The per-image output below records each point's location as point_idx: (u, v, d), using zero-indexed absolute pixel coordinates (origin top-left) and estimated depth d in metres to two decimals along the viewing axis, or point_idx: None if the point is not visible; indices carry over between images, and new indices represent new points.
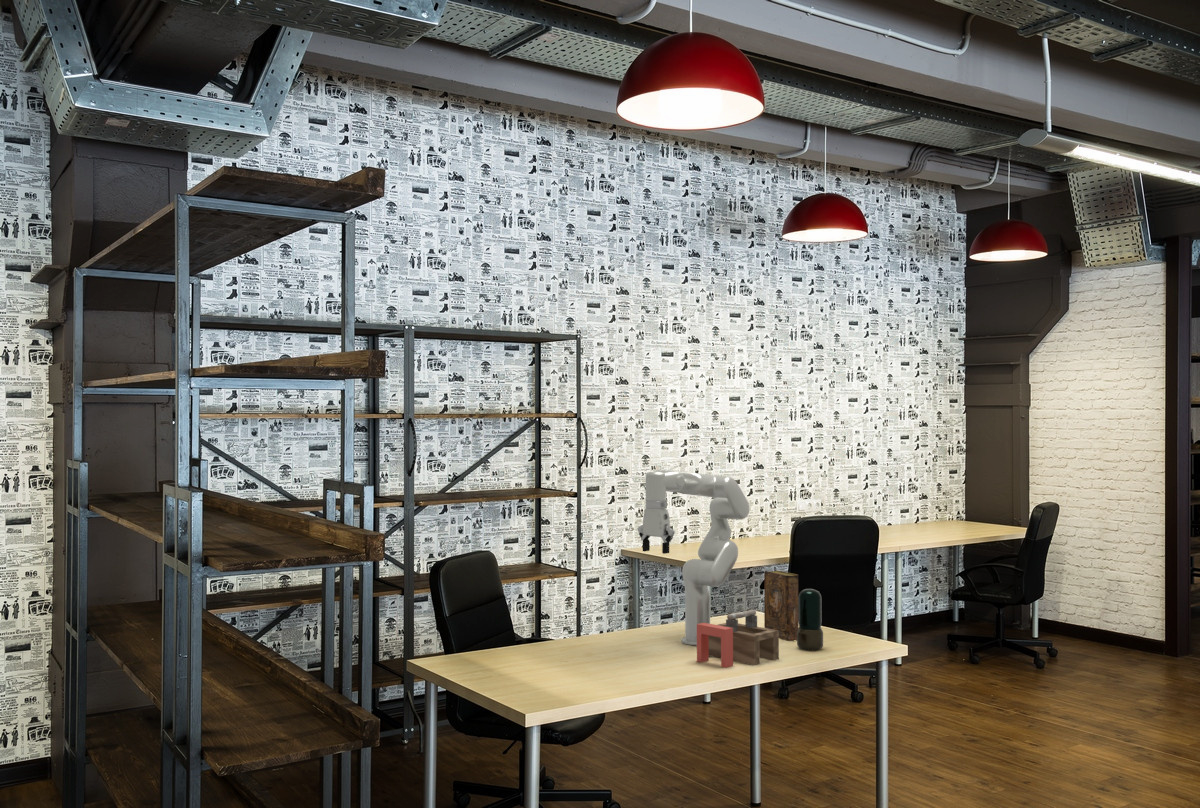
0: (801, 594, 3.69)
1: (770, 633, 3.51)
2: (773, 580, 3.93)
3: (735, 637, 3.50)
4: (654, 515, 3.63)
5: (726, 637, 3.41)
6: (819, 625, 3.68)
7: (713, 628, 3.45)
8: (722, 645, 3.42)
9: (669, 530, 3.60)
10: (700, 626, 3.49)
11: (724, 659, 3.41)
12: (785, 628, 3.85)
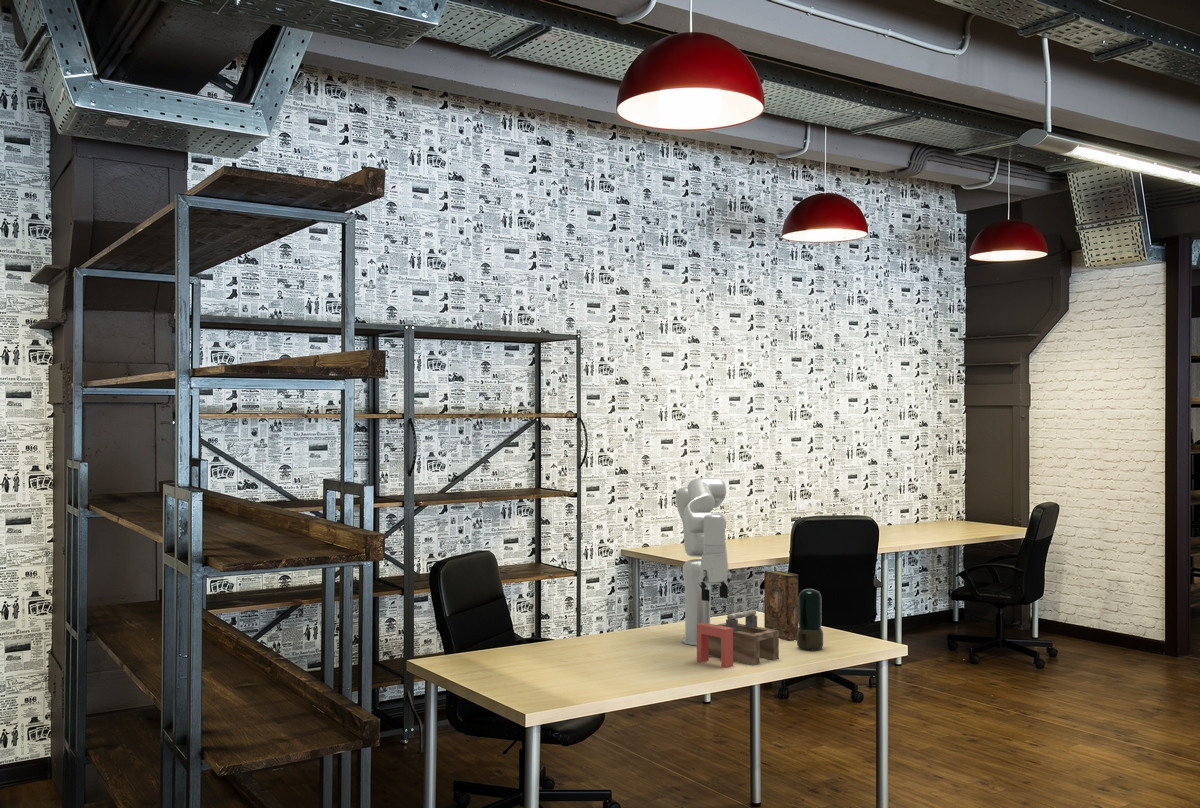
0: (801, 594, 3.69)
1: (770, 633, 3.51)
2: (773, 580, 3.93)
3: (735, 637, 3.50)
4: (722, 559, 3.47)
5: (726, 637, 3.41)
6: (819, 625, 3.68)
7: (713, 628, 3.45)
8: (722, 645, 3.42)
9: (728, 573, 3.52)
10: (700, 626, 3.49)
11: (724, 659, 3.41)
12: (785, 628, 3.85)
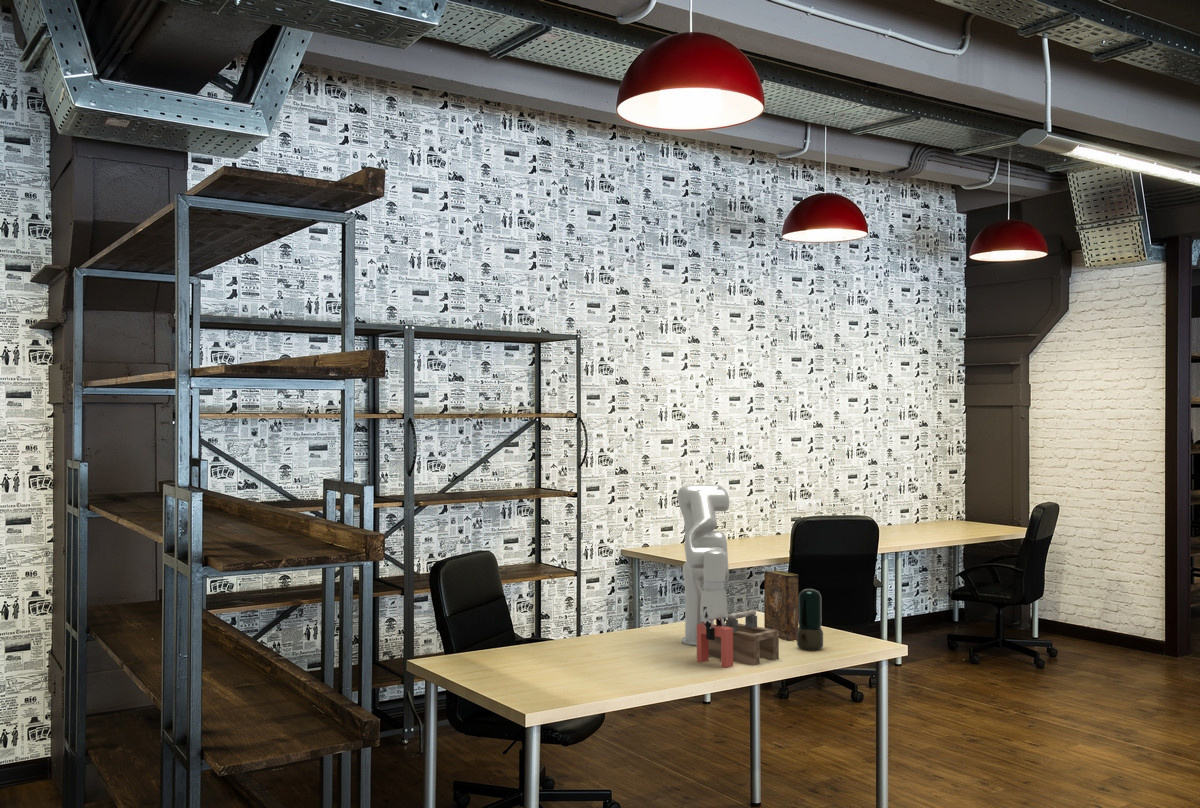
0: (801, 594, 3.69)
1: (770, 633, 3.51)
2: (773, 580, 3.93)
3: (735, 637, 3.50)
4: (722, 596, 3.47)
5: (726, 637, 3.41)
6: (819, 625, 3.68)
7: (713, 628, 3.45)
8: (722, 645, 3.42)
9: (726, 613, 3.51)
10: (700, 626, 3.49)
11: (724, 659, 3.41)
12: (785, 628, 3.85)
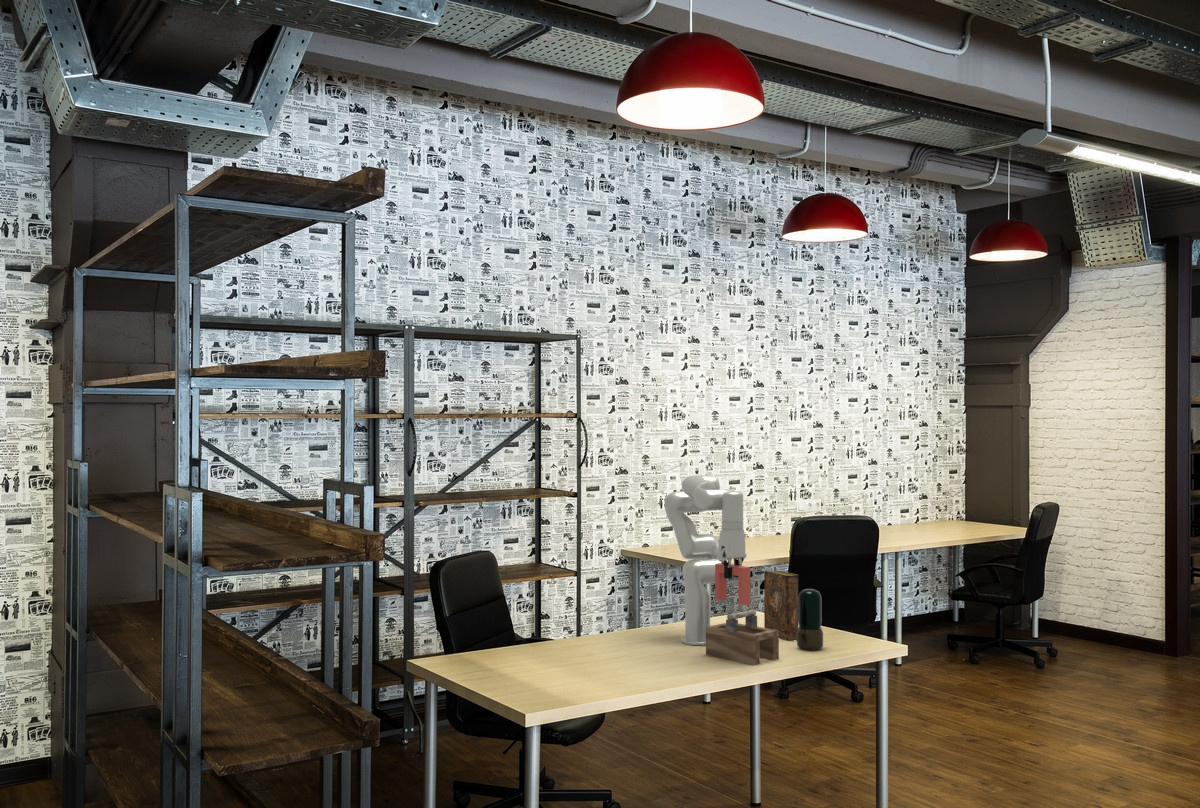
0: (801, 594, 3.69)
1: (770, 633, 3.51)
2: (773, 580, 3.93)
3: (735, 637, 3.50)
4: (740, 536, 3.54)
5: (743, 575, 3.49)
6: (819, 625, 3.68)
7: (731, 567, 3.52)
8: (739, 583, 3.49)
9: None
10: (718, 565, 3.57)
11: (741, 597, 3.49)
12: (785, 628, 3.85)
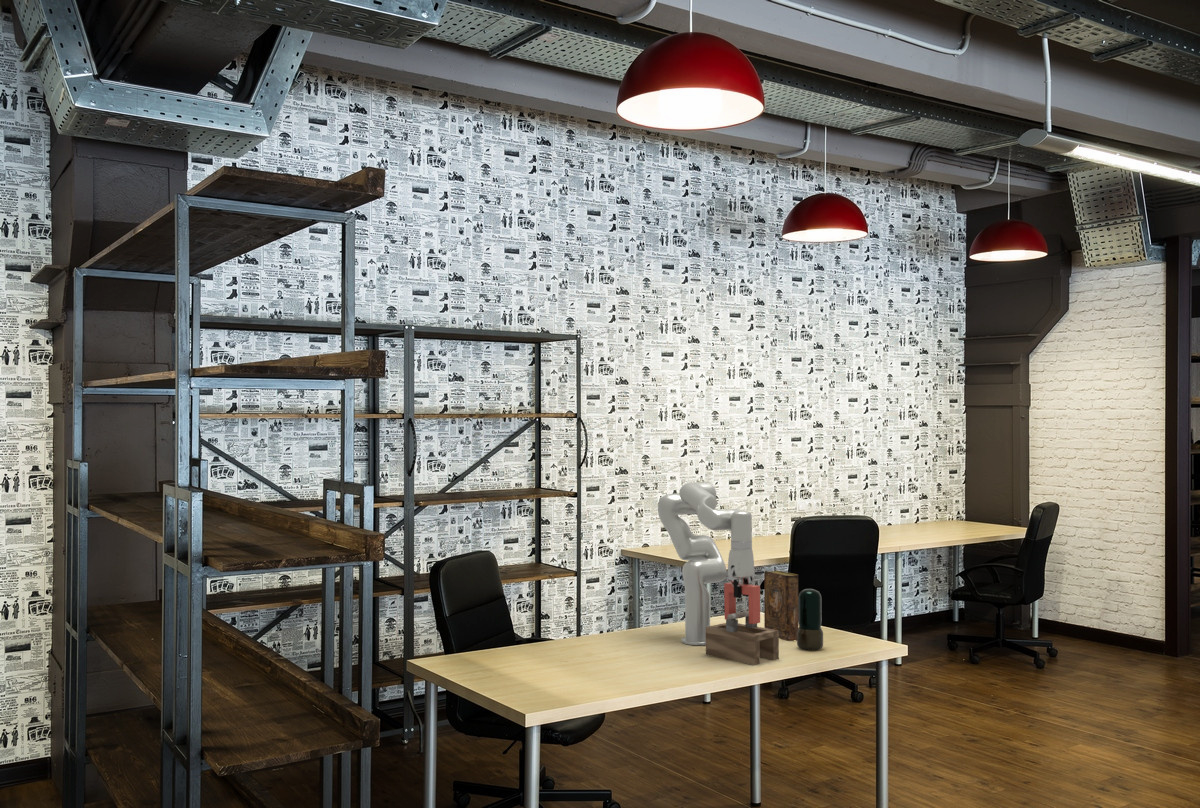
0: (801, 594, 3.69)
1: (770, 633, 3.51)
2: (773, 580, 3.93)
3: (735, 637, 3.50)
4: (749, 555, 3.57)
5: (753, 594, 3.52)
6: (819, 625, 3.68)
7: (741, 586, 3.55)
8: (750, 602, 3.52)
9: None
10: (728, 585, 3.60)
11: (752, 616, 3.52)
12: (785, 628, 3.85)
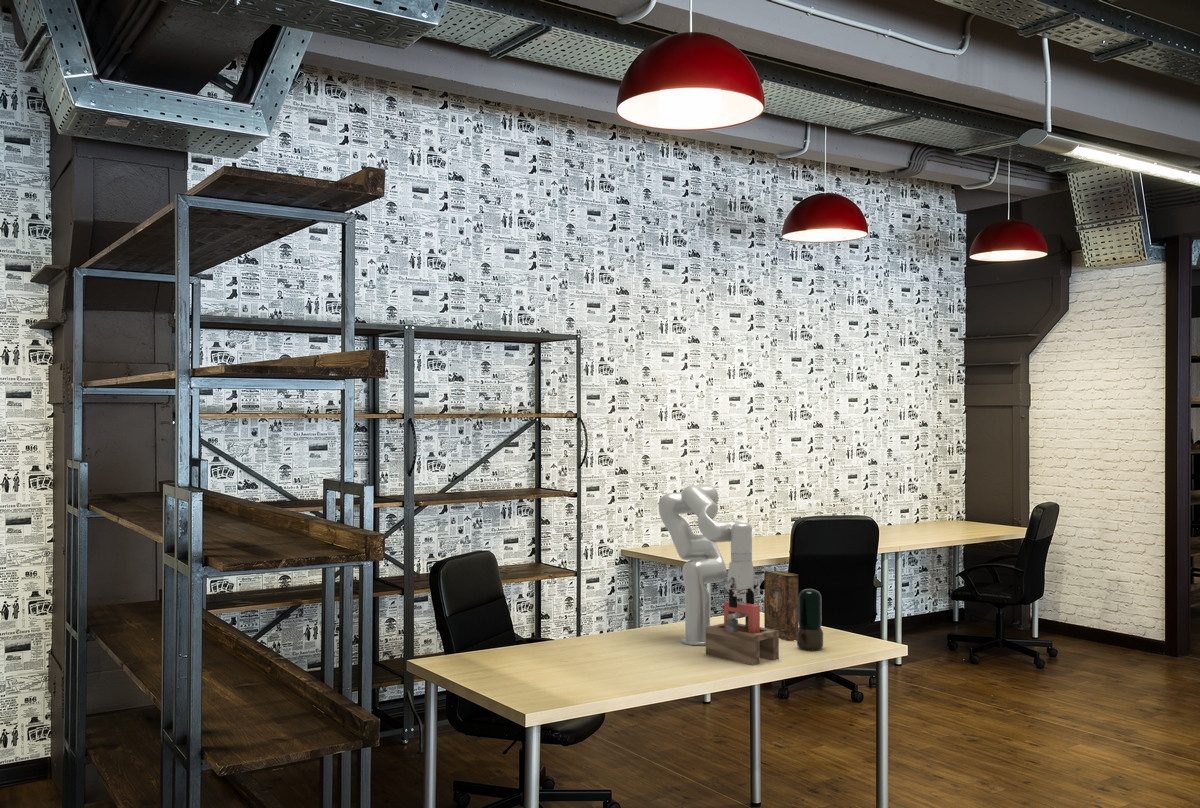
0: (801, 594, 3.69)
1: (770, 633, 3.51)
2: (773, 580, 3.93)
3: (735, 637, 3.50)
4: (749, 567, 3.57)
5: (753, 614, 3.52)
6: (819, 625, 3.68)
7: (740, 605, 3.55)
8: (749, 622, 3.52)
9: (755, 579, 3.62)
10: (727, 604, 3.60)
11: None
12: (785, 628, 3.85)
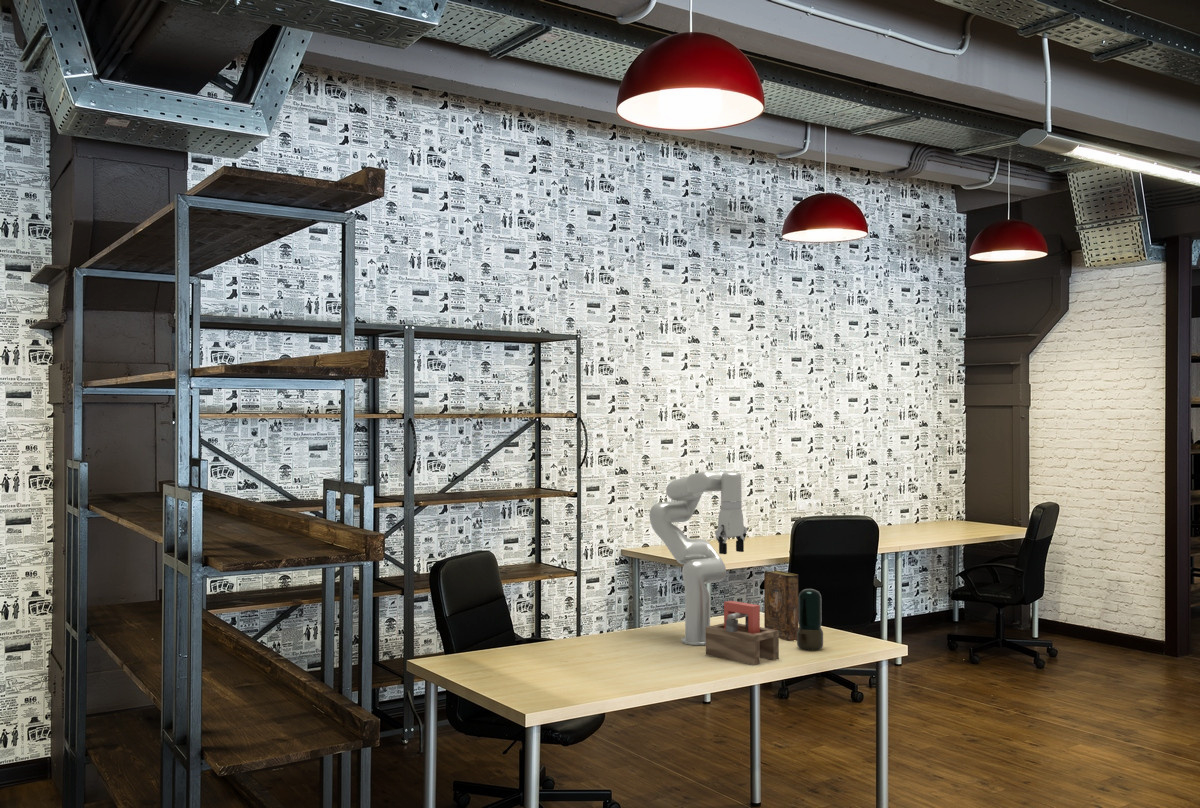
0: (801, 594, 3.69)
1: (770, 633, 3.51)
2: (773, 580, 3.93)
3: (735, 637, 3.50)
4: (739, 515, 3.65)
5: (753, 614, 3.52)
6: (819, 625, 3.68)
7: (740, 605, 3.55)
8: (749, 622, 3.52)
9: (744, 528, 3.70)
10: (727, 604, 3.60)
11: None
12: (785, 628, 3.85)
